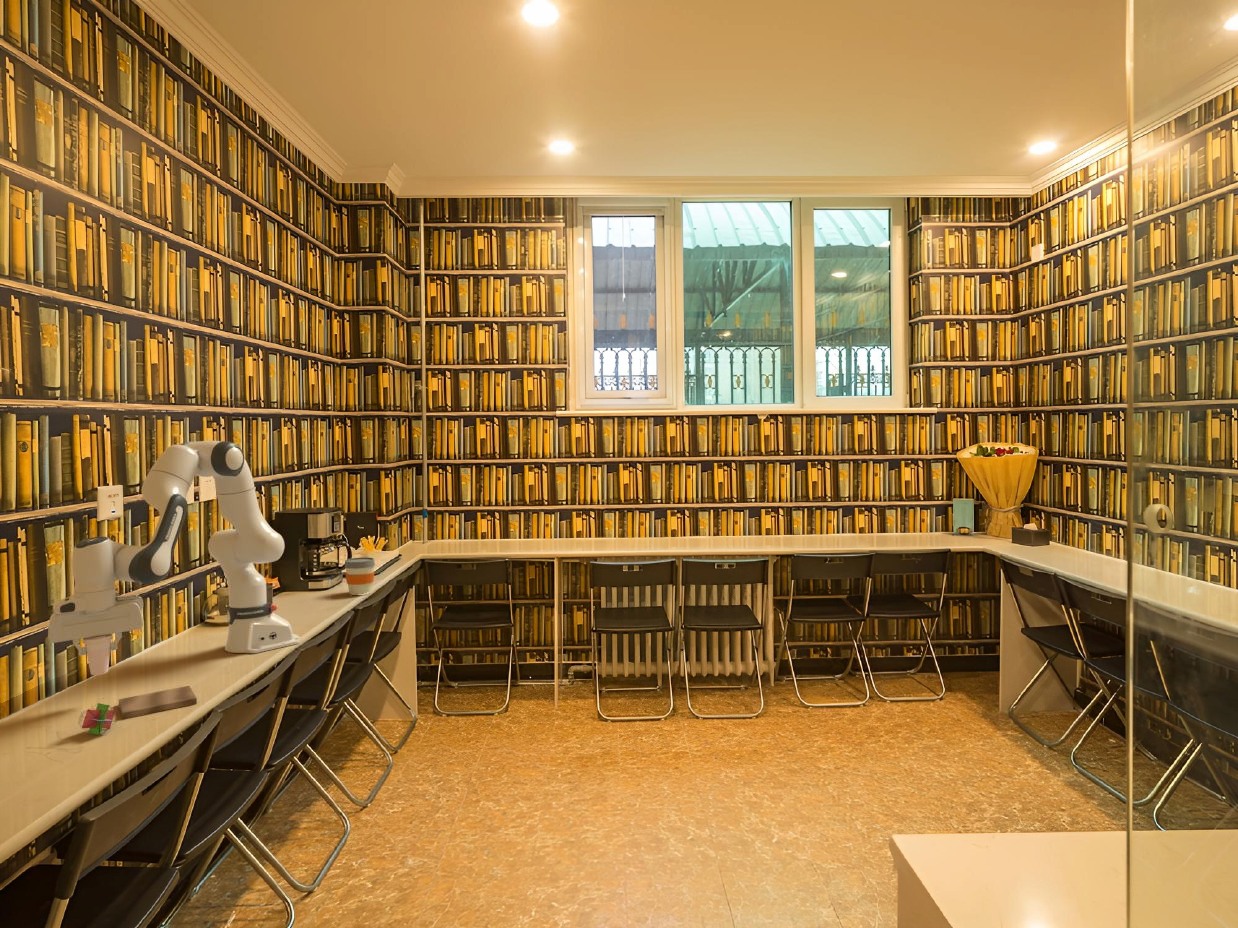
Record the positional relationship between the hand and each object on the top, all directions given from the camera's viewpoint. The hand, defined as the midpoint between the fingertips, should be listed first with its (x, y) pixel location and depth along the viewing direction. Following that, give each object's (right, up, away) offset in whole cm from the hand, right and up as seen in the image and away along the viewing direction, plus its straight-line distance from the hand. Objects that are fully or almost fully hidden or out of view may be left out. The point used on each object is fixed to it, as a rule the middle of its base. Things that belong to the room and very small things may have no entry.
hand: (98, 652), depth 190 cm
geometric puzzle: (+13, -14, -18) cm, 27 cm away
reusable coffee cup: (+23, -8, +129) cm, 131 cm away
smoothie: (0, -6, 0) cm, 6 cm away
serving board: (+16, -13, -1) cm, 21 cm away
